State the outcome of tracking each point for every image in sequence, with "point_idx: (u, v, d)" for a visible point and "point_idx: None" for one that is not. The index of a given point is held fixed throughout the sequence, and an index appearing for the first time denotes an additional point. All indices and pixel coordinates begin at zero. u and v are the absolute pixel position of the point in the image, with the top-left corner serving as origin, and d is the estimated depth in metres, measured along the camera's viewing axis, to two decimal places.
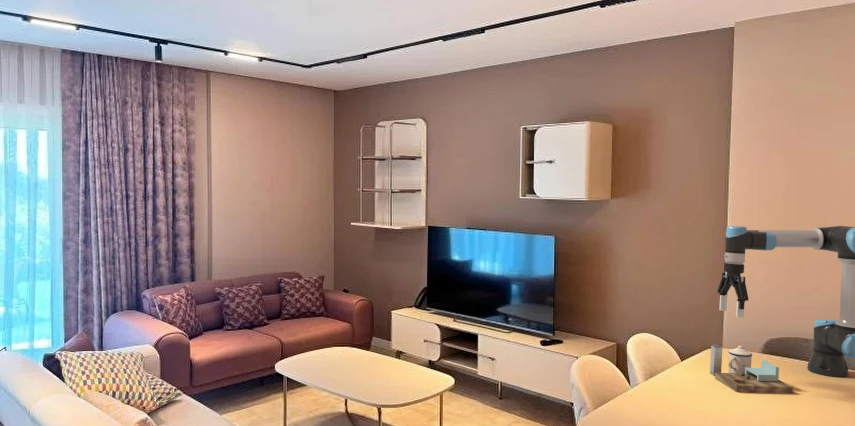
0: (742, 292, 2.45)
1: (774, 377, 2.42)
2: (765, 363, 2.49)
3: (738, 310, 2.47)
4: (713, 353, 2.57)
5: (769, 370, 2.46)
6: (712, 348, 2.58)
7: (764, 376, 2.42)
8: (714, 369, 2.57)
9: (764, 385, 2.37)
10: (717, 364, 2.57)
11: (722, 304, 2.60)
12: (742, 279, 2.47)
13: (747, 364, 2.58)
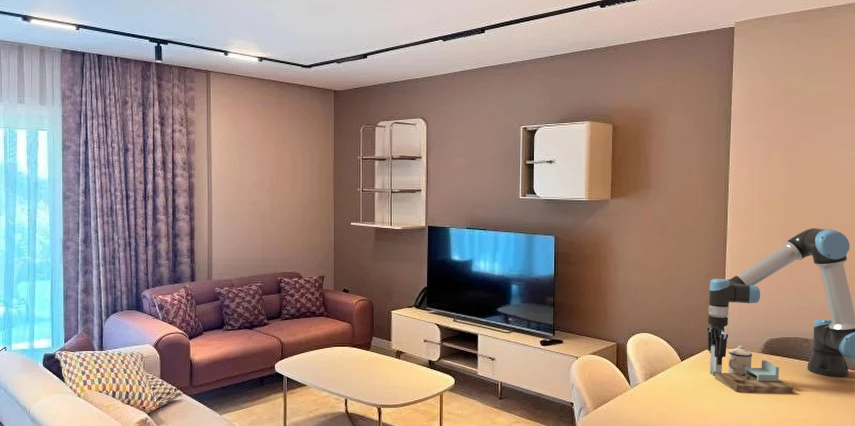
0: (721, 349, 2.53)
1: (774, 377, 2.42)
2: (765, 363, 2.49)
3: (716, 365, 2.56)
4: (713, 353, 2.57)
5: (769, 370, 2.46)
6: (712, 348, 2.58)
7: (764, 376, 2.42)
8: None
9: (764, 385, 2.37)
10: None
11: None
12: (724, 337, 2.52)
13: (747, 364, 2.58)
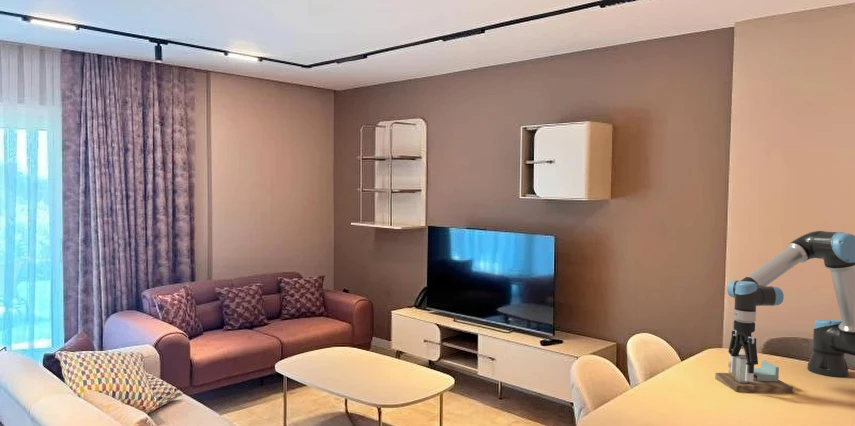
0: (752, 356, 2.32)
1: (774, 377, 2.42)
2: (765, 363, 2.49)
3: (747, 374, 2.34)
4: (739, 365, 2.39)
5: (769, 370, 2.46)
6: (738, 360, 2.40)
7: (764, 376, 2.42)
8: (739, 383, 2.39)
9: (764, 385, 2.37)
10: (743, 377, 2.39)
11: (734, 366, 2.45)
12: (753, 341, 2.33)
13: None
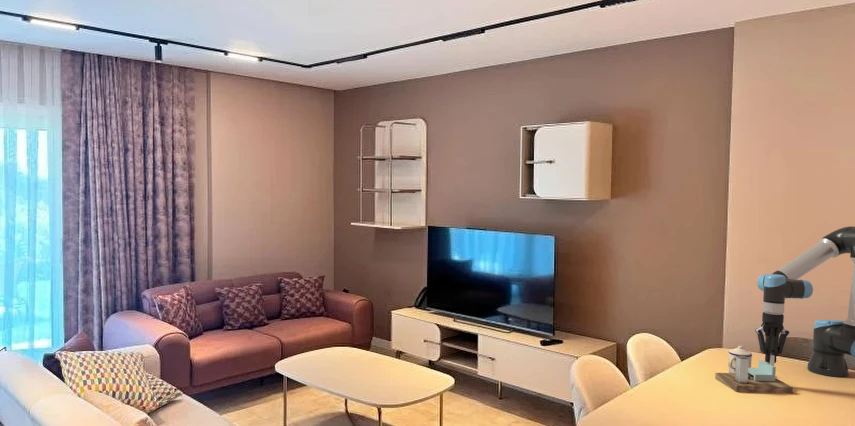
0: (760, 345, 2.47)
1: (771, 377, 2.42)
2: (762, 363, 2.49)
3: None
4: (739, 365, 2.39)
5: (766, 370, 2.46)
6: (737, 360, 2.40)
7: (761, 376, 2.42)
8: (739, 383, 2.39)
9: (764, 385, 2.37)
10: (743, 377, 2.39)
11: (769, 363, 2.47)
12: (757, 332, 2.46)
13: None
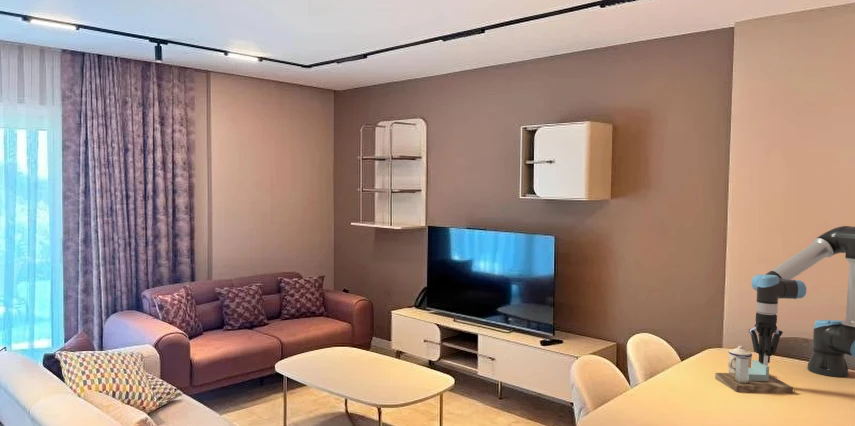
0: (753, 345, 2.47)
1: (764, 376, 2.42)
2: (756, 363, 2.49)
3: None
4: (739, 365, 2.39)
5: (759, 370, 2.46)
6: (737, 360, 2.40)
7: (754, 376, 2.42)
8: (739, 383, 2.39)
9: (764, 385, 2.37)
10: (743, 377, 2.39)
11: None
12: (751, 333, 2.46)
13: None
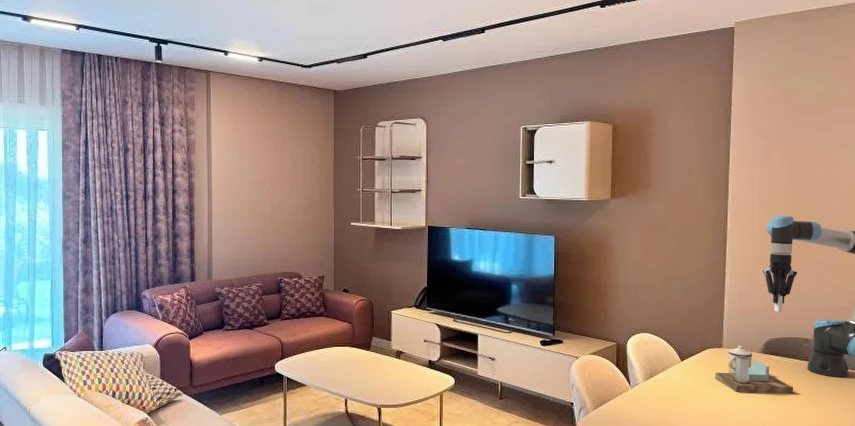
0: (768, 286, 2.49)
1: (764, 376, 2.42)
2: (756, 363, 2.49)
3: (775, 304, 2.49)
4: (739, 365, 2.39)
5: (759, 370, 2.46)
6: (737, 360, 2.40)
7: (754, 376, 2.42)
8: (739, 383, 2.39)
9: (764, 385, 2.37)
10: (743, 377, 2.39)
11: None
12: (765, 273, 2.48)
13: None
